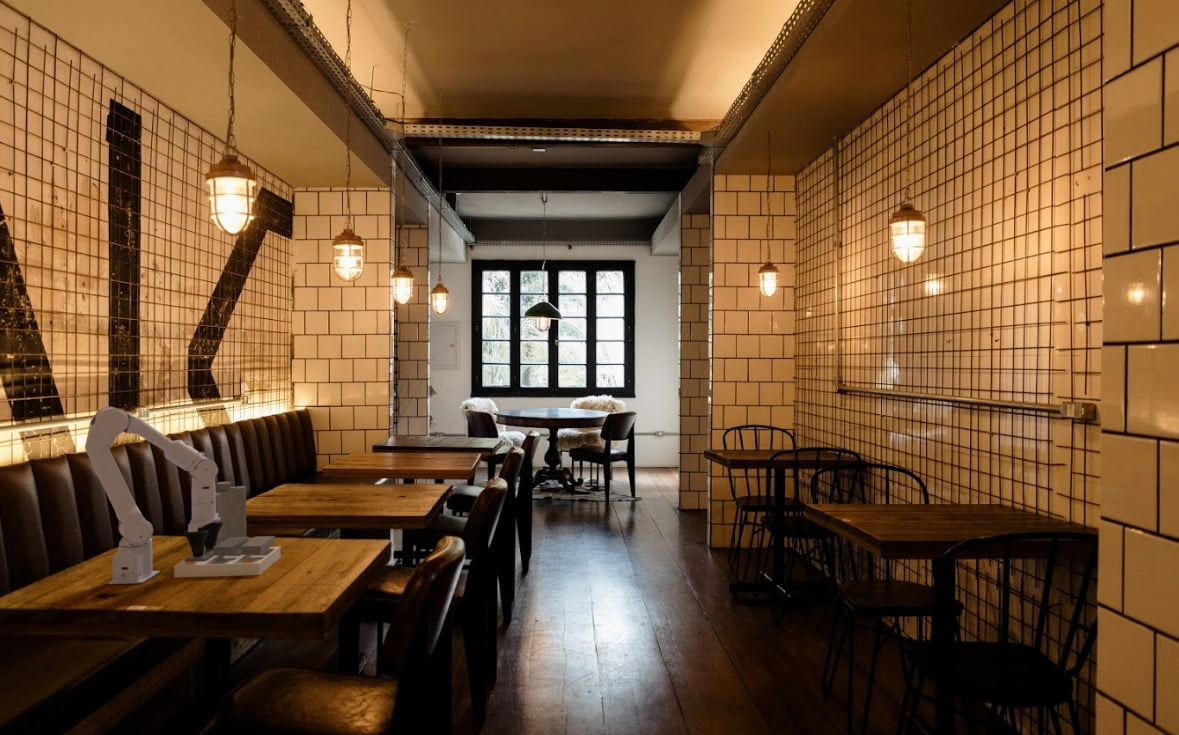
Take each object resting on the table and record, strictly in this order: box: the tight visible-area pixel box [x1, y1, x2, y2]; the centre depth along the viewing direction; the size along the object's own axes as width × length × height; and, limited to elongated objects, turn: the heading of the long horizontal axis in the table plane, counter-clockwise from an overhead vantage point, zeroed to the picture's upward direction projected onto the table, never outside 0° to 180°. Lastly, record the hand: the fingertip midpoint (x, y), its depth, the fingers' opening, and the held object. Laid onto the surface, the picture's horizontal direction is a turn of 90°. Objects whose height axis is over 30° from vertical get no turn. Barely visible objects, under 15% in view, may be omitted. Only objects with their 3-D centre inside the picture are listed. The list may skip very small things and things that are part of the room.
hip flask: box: [215, 481, 247, 546], centre depth 217 cm, size 16×4×20 cm, turn 170°
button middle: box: [213, 536, 249, 556], centre depth 201 cm, size 11×5×2 cm, turn 5°
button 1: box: [184, 547, 213, 562], centre depth 200 cm, size 11×5×2 cm, turn 5°
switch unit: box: [173, 546, 282, 578], centre depth 200 cm, size 17×21×3 cm
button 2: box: [241, 535, 275, 555], centre depth 202 cm, size 11×5×2 cm, turn 5°
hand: (204, 552), depth 200 cm, fingers open, 7 cm apart
